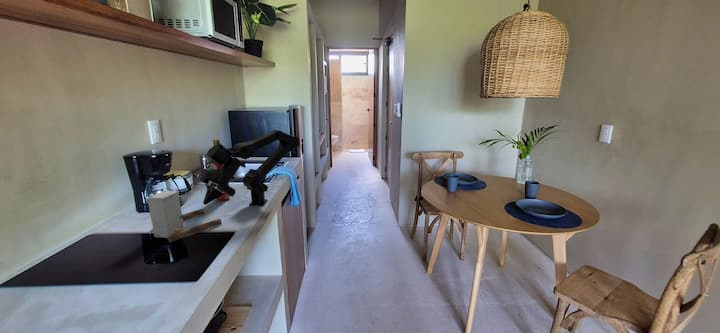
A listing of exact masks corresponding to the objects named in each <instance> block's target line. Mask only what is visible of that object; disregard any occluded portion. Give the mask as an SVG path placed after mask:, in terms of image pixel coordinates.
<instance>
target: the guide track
mask: <svg viewBox="0 0 720 333" xmlns="http://www.w3.org/2000/svg"><path fill="white" fill-rule="evenodd" d="M204 215H205V209H204V208H200V209H196V210H193V211H190V212H185V213H183V214H182V218H183V220H184V221H186V219H187V220H190V219H193V218H196V216H197V217H200V216H204ZM192 217H193V218H192ZM189 218H190V219H189ZM219 224H221V225H222V219H221V218H217V219H214V220H211V221H208V222H204V223H200V224H199V225H196V226H192V227H190V228H186V229H182V230H180V229H179V228H176V229H174V231H175V233H174V234H171V235H168V238H167V241H168V242H169V243H172V242H175V241H179V240H180V239H185V238H186V237H190V236H192V235H195V234H198V233H201V232H204V231H206V229H207V230H209V229H208V228H210V229H212V228H211V227H213V228H215V227H214V226H216V225H218V226H220V225H219ZM216 227H217V226H216Z"/></svg>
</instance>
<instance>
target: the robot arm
mask: <svg viewBox="0 0 720 333" xmlns="http://www.w3.org/2000/svg"><path fill="white" fill-rule="evenodd" d="M274 142H275V143H276V142H279V143H278V146H277V148H276V149H275V150H274V151H273V152H272V153H271V154H270V155H269V156H268V157H267V158H266V159H265V160H264V162H262V164H260V166H258V167H257V168H256V169H255V168H254V169H253V168H250V169H249V170H248V171H247V173H245V174H244V176H243V178H242V184H243V185H244V187H246V189H247V190H248V191H250V198H251V202H250V203H249V204H248V206H253V205H254V206H255V205H257V206H262V207H263V206H265V204H266V203H267V202H268V199H266V197H265V192H268V191H269V190H268V189H269V186H268V184H267V185H266V184H265V182H266V178H267V175H269V173H270V172H271V171H273V169H274V168H275V167H276V166H277V165H278V164H279V163H280V161H281V160H282V159H283V158H284V157H285V156H286V155H287V154H289V153H291V152H293V151H295V150H296V149H298V147H300V138H299V137H298V136H297V135H291V134H288V133H286V132H284V131H282V130H279V129H273V130H271V131H269V132H268V133H265V134H263V135H262V136H259V137H257V138H254V139H253V140H250V141H243V142H239V143H236V144H234V145H233V146H232V147H230V148H226V146H224V145H223V144H222V143H221V142H220V143H217V145H215V146H214V145H213V146H211V148H209V149H208V151H207V152H206V157H208V158H209V160H211V159H212V160H213V161H215V162H216V163H217V164H219V165H221V164H223V166H222V167H221V169H219V168H218V169H211V168H205V167H202V168H201V170H200V173H199V176H200V178H199V181H200V182H202V183H203V184H205V186H206V193H205V195H204V199H203V201H202V204H203V205H205V206H206V205H208V204H210V203H212V202H213V201H215V200H218V199H217V198H218V197H220V196H222V195H225V194H224V192H225V193H227V194H228V195H230V197H232V198H233V197H234V196H235V195H236V193H237V191H236V189H234V188H233V187H232V186H230V185H229V186H228V183H229V184H230V181H231V180H232V181H233V180H235V178H236V177H235V174H236V173H237V172H238V170H239V169H240V167H242V168H243V169H245V168H246V167H247V166H246V162H245V160H248V159H250V158H251V157H252V156H253V155H255V154H256V153H257V151H259V150H260V149H262V148H265V147H266V146H268V145H270V144H272V143H274ZM241 159H242V160H241ZM255 207H256V206H255Z"/></svg>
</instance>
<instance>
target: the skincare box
mask: <svg viewBox="0 0 720 333" xmlns="http://www.w3.org/2000/svg"><path fill="white" fill-rule="evenodd" d="M146 199H147V203H148V204H147V205H148V210H149V214H150V220H151V225H152V230H153V236H154V237H155V238H164V239H168V235H171V234H174V233H175V231H174V229H176V228H179V229H180V231H182V230H184V229H185V225H184V224H185V223H184V221H183V218H182V215H183V214H182V208H181V202H180V196H179V191H178V190H164V191H161V192H158V193H155V194H153V195H151V196H149V197H147V198H146ZM181 229H182V230H181Z"/></svg>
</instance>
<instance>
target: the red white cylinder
mask: <svg viewBox="0 0 720 333" xmlns="http://www.w3.org/2000/svg"><path fill="white" fill-rule="evenodd" d="M212 142H213V146H215V145H217V143H220V144H221V140H220V139H219V138H218V139H217V138H215V139H213V140H212ZM209 164H210V165H209V166H210V170H211V169H218V168H219V169H221V167H222V166H223V164H221V165H219V164H217V163H216V162H215V161H213V160H212V159H209ZM228 186H230V182H229V183H228ZM224 194H225V195H222V196H220V197H218V198H217V199H216V200H217V201H226V200H229V199H230V197H231V196H230V195H228V194H227V193H225V192H224Z"/></svg>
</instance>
